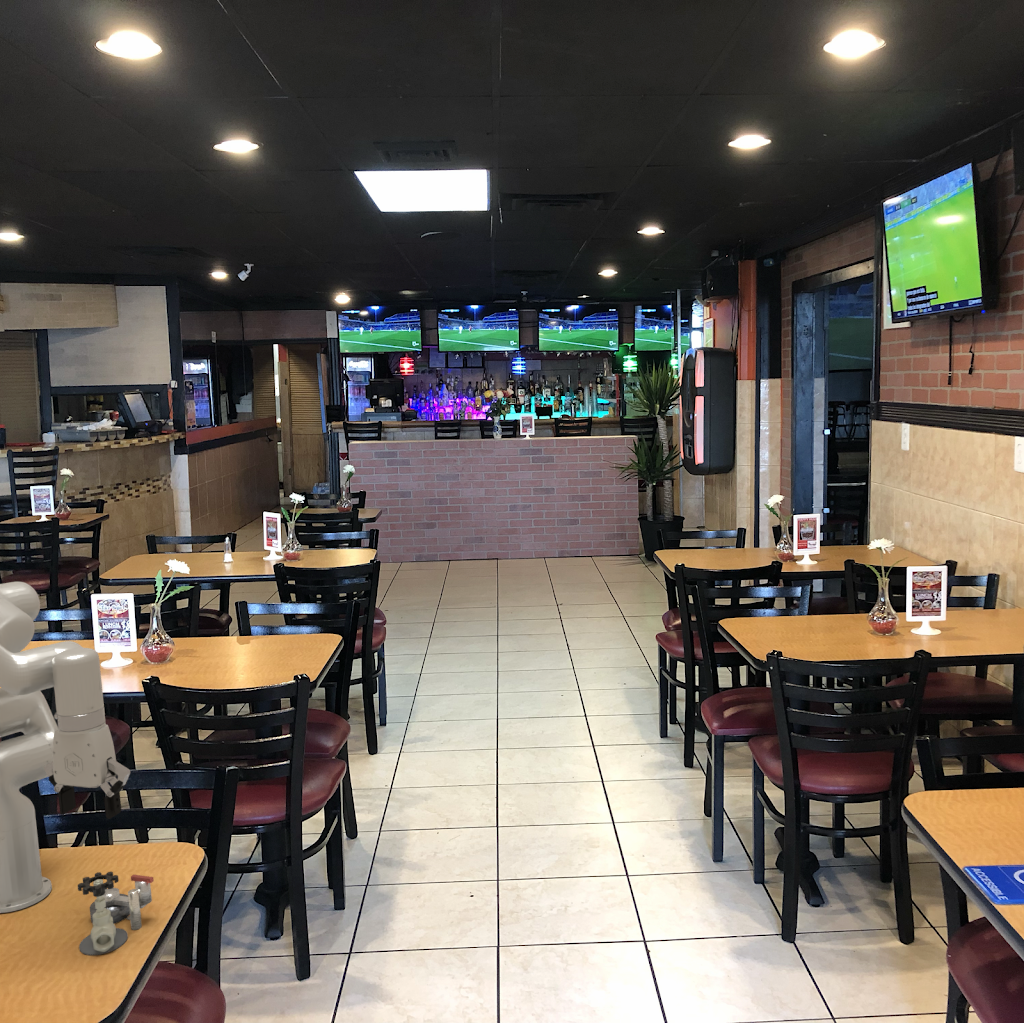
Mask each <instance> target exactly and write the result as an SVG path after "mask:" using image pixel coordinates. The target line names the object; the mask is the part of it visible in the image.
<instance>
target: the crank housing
mask: <svg viewBox="0 0 1024 1023" xmlns="http://www.w3.org/2000/svg"><path fill="white" fill-rule="evenodd" d="M119 894H120V896H126V897H128V900H129V907H128V906H121V905H112V906H108V907H104V908H106V909H108V910H110V912H111V917H113V923H114V925H116V924H118V923H120V922H122V921H124V920H129V922H130V930H131V931H135V930H140V929H141V928H142V914H141V908H140V903H139V892H138V889H135V888H132V889H130V890H128V891H127V894H125V893H119ZM96 910H97V909H96V908H95V900H94V901H93V902H92V903H91V904H90V906H89V914H90V922H91V924H92V925H93V918H92V915H93V914H94V913H95V912H96Z"/></svg>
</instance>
